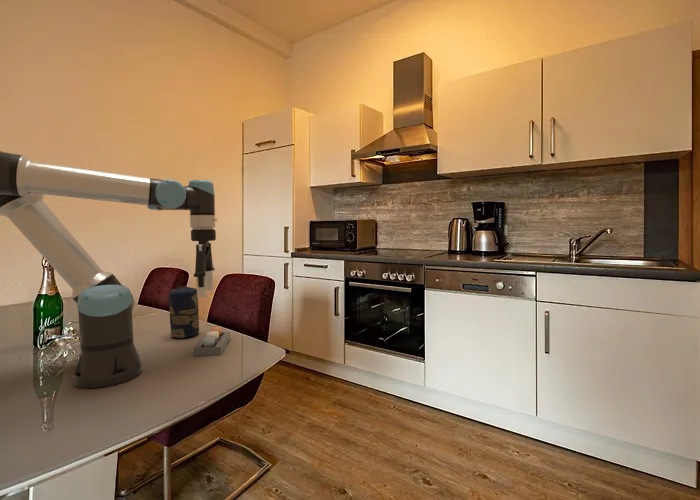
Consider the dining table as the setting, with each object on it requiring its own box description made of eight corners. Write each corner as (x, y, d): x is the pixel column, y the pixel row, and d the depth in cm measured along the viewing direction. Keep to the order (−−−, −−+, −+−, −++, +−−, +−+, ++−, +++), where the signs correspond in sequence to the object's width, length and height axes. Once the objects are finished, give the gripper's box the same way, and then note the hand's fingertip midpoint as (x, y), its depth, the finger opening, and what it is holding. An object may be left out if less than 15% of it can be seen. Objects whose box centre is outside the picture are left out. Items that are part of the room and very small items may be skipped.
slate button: (213, 347, 113) (213, 339, 113) (201, 347, 112) (201, 339, 112) (216, 343, 116) (216, 335, 116) (204, 344, 116) (204, 336, 116)
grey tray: (220, 354, 113) (220, 346, 112) (193, 356, 111) (193, 348, 111) (230, 339, 128) (230, 331, 128) (206, 340, 127) (206, 333, 127)
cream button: (217, 341, 118) (217, 333, 118) (205, 342, 118) (205, 334, 118) (219, 338, 122) (219, 330, 122) (208, 338, 121) (208, 331, 121)
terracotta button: (221, 336, 124) (220, 329, 124) (209, 337, 123) (209, 329, 123) (223, 333, 127) (223, 326, 127) (212, 333, 127) (212, 326, 127)
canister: (192, 339, 128) (190, 288, 127) (165, 339, 128) (163, 288, 127) (203, 331, 138) (202, 284, 136) (178, 331, 138) (176, 284, 137)
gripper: (209, 228, 108) (212, 300, 109) (220, 228, 132) (222, 286, 133) (182, 229, 106) (185, 301, 108) (197, 228, 130) (200, 287, 132)
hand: (205, 293), depth 121 cm, fingers open, 13 cm apart
